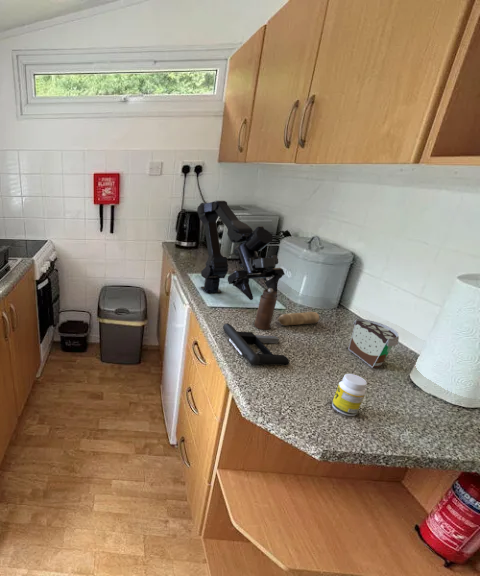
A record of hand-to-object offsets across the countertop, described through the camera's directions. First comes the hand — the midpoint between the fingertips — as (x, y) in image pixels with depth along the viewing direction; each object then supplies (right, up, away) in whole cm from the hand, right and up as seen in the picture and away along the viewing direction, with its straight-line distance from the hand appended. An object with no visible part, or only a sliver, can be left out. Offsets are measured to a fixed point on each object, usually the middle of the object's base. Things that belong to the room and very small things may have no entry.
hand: (263, 298), depth 106 cm
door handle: (-8, -15, -11) cm, 20 cm away
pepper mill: (0, -10, +2) cm, 10 cm away
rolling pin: (+14, -9, +4) cm, 17 cm away
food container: (+23, -17, -15) cm, 32 cm away
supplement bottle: (0, -24, -34) cm, 42 cm away
